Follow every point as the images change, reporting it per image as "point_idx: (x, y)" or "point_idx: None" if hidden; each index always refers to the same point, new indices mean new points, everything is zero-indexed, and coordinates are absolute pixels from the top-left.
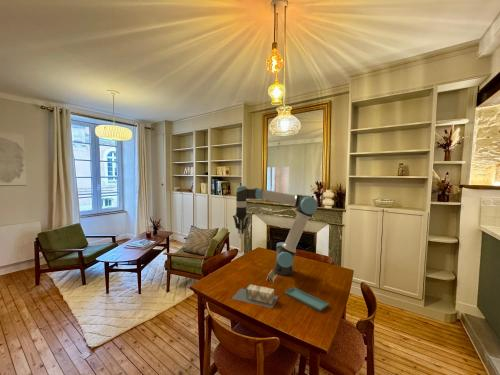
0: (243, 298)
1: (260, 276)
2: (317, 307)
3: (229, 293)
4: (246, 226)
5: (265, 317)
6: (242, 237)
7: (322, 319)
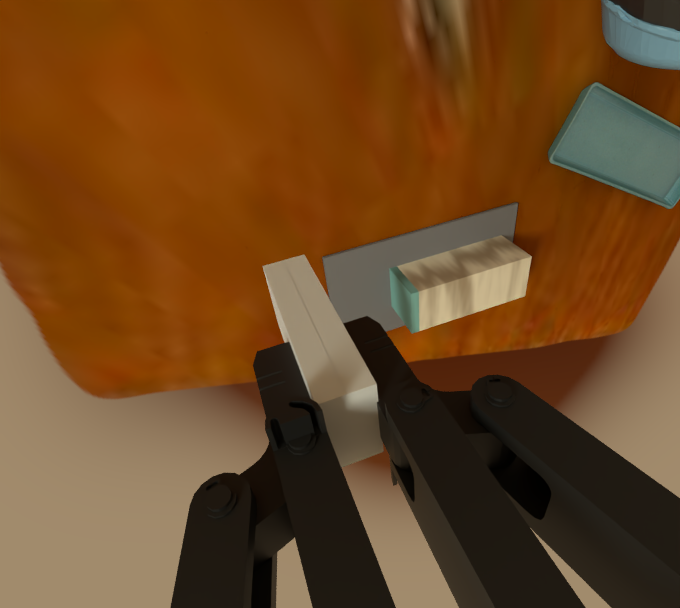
0: (382, 314)
1: (350, 9)
2: (664, 205)
3: None
4: (568, 432)
5: (490, 338)
6: (307, 264)
7: (654, 236)
